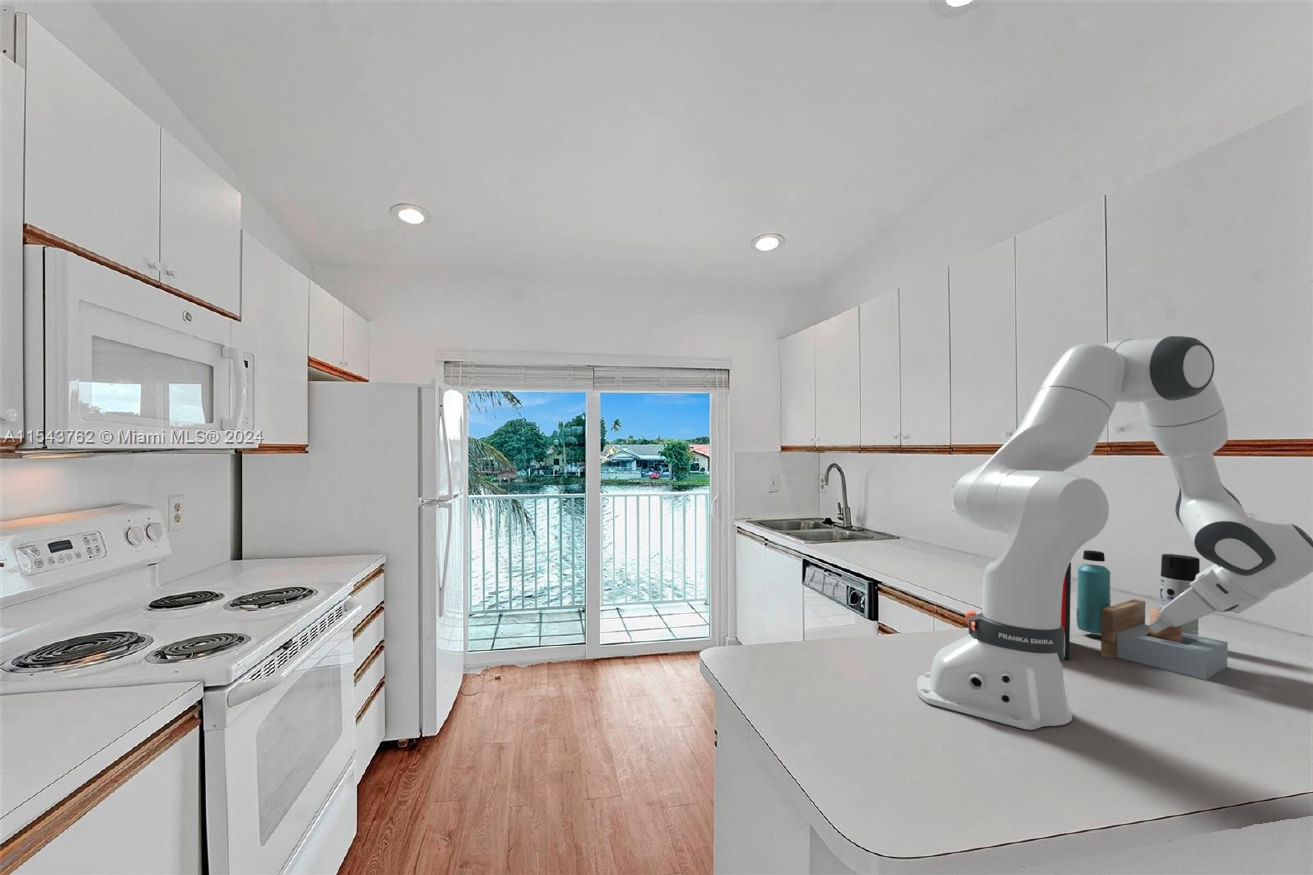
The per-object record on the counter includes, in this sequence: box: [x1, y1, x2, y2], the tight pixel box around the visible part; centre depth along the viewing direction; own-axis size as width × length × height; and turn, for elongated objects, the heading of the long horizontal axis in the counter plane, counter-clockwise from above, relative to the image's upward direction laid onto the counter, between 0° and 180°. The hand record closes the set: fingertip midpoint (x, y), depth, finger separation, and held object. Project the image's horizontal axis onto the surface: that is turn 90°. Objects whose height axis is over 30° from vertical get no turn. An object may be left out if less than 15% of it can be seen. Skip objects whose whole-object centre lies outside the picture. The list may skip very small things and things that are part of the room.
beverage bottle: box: [1076, 549, 1112, 635], centre depth 139 cm, size 6×7×20 cm
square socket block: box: [1116, 623, 1229, 681], centre depth 122 cm, size 14×14×5 cm
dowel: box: [1149, 608, 1182, 644], centre depth 123 cm, size 5×5×9 cm
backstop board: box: [1100, 598, 1146, 660], centre depth 129 cm, size 2×18×10 cm, turn 124°
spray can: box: [1159, 553, 1201, 636], centre depth 135 cm, size 7×7×20 cm
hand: (1160, 626), depth 123 cm, fingers open, 8 cm apart
